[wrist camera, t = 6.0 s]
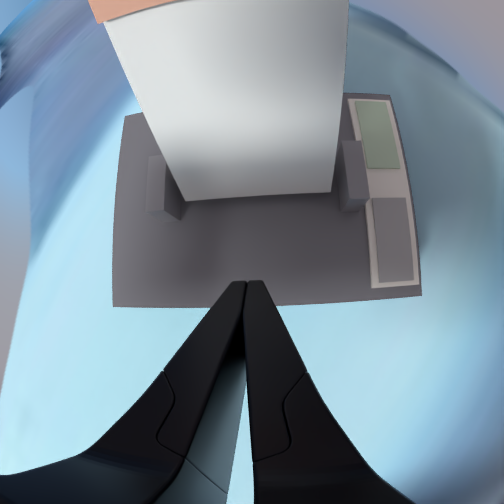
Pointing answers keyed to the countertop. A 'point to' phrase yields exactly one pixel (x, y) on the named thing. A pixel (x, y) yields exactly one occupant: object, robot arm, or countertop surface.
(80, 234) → the countertop surface
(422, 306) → the countertop surface
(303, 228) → the switch unit
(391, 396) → the countertop surface
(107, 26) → the lever
